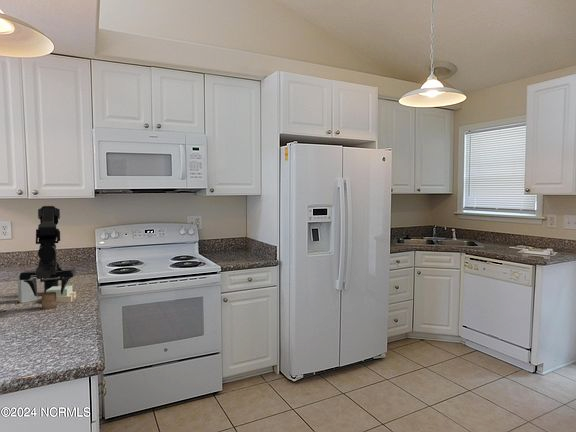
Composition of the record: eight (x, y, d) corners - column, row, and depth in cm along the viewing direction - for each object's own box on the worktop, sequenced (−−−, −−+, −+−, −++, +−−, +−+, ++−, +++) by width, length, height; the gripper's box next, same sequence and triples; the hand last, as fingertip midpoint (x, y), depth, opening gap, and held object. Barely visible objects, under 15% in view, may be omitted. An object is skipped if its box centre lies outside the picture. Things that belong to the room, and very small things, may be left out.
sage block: (52, 293, 170) (52, 286, 170) (72, 292, 172) (72, 285, 172) (46, 297, 162) (46, 290, 162) (67, 296, 164) (66, 289, 164)
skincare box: (34, 298, 169) (33, 272, 168) (37, 300, 166) (36, 273, 166) (17, 301, 164) (17, 274, 164) (21, 303, 161) (20, 275, 161)
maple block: (51, 299, 170) (50, 292, 170) (76, 297, 174) (76, 291, 173) (44, 305, 161) (44, 298, 161) (70, 303, 164) (70, 296, 164)
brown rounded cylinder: (44, 306, 156) (43, 292, 156) (58, 305, 158) (57, 291, 157) (40, 310, 151) (39, 295, 151) (54, 309, 153) (54, 294, 153)
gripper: (13, 261, 143) (14, 302, 144) (69, 258, 149) (70, 298, 150) (23, 257, 154) (24, 295, 155) (75, 255, 160) (76, 291, 160)
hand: (49, 295), depth 154 cm, fingers open, 9 cm apart
